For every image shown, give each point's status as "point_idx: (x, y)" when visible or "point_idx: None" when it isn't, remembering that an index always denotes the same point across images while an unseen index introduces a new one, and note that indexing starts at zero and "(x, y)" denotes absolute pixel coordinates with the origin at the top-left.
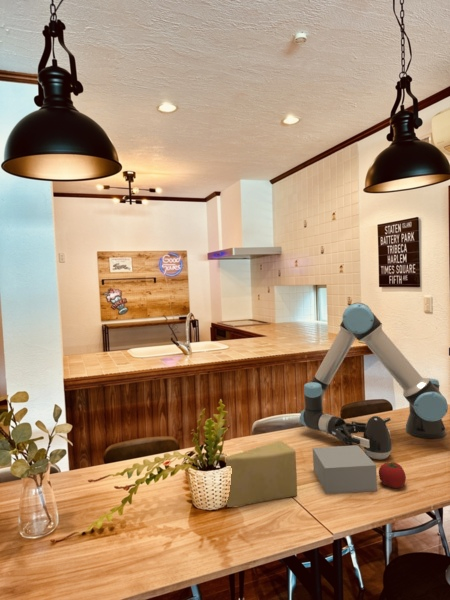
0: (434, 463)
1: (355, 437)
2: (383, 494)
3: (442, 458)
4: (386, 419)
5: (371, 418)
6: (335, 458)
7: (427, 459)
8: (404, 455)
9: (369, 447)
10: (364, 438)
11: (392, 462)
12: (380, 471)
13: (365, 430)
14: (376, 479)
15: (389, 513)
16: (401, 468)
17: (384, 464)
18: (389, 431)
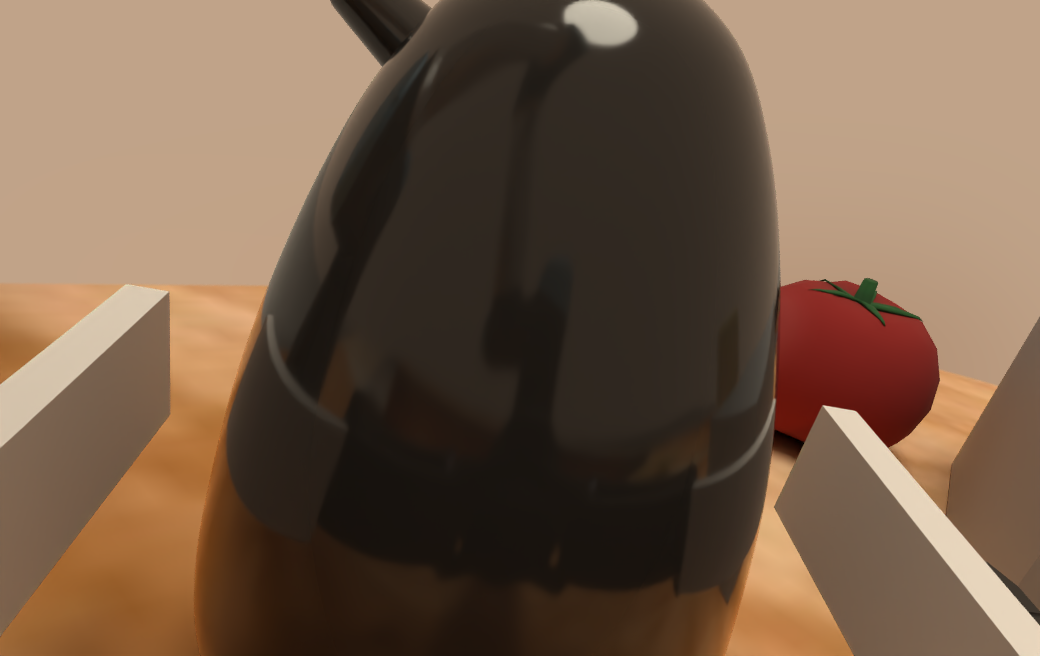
0: (255, 316)
1: (1022, 633)
2: (931, 435)
3: (107, 290)
4: (419, 2)
5: (728, 32)
6: None
7: (190, 344)
8: (183, 472)
9: (777, 505)
10: (751, 558)
11: (827, 298)
12: (937, 373)
13: (767, 402)
14: (993, 399)
15: (990, 390)
16: (806, 281)
17: (905, 326)
18: (149, 299)
